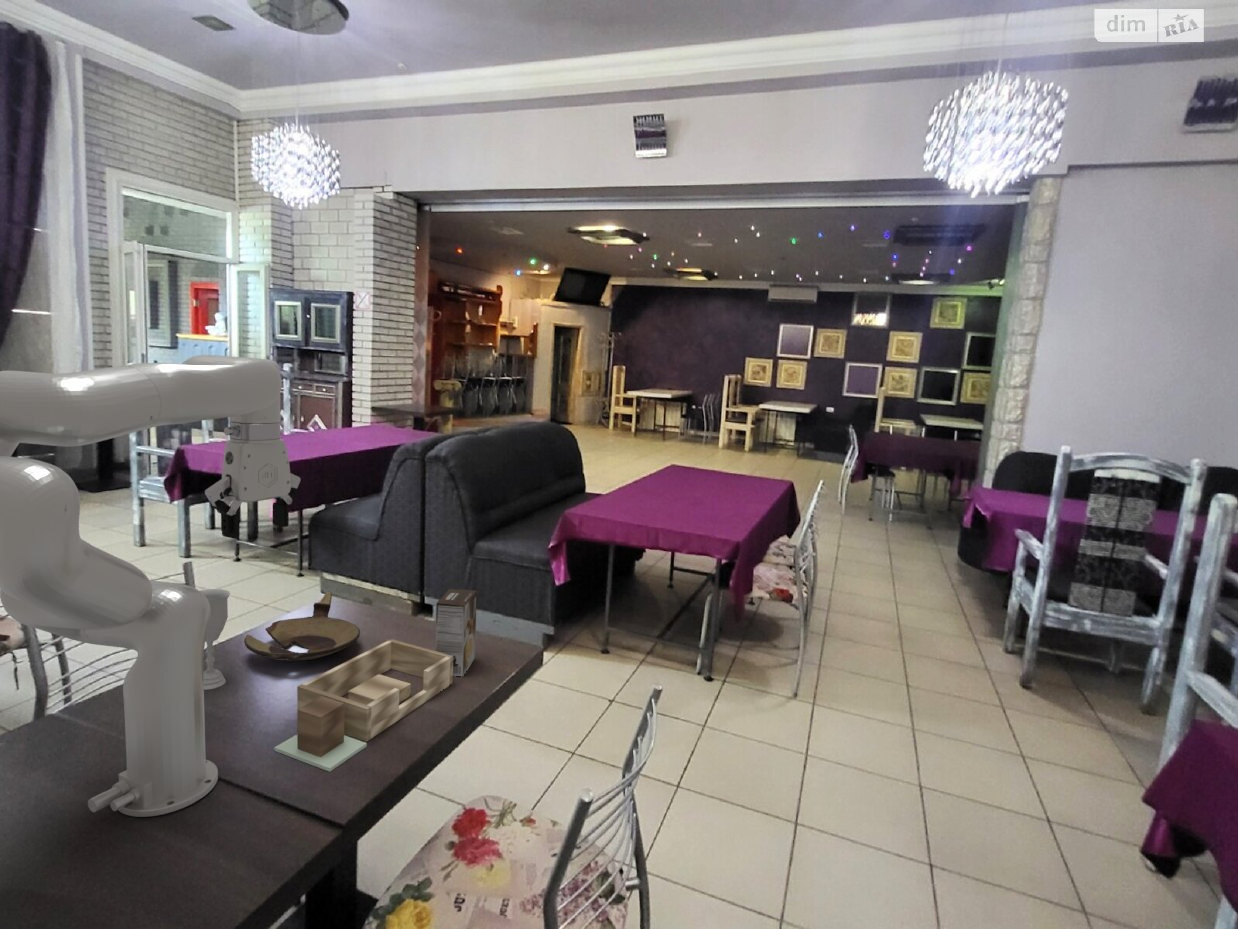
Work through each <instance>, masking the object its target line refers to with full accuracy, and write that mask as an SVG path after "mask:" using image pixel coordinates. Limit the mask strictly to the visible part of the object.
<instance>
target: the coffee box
mask: <svg viewBox="0 0 1238 929" xmlns="http://www.w3.org/2000/svg"><path fill="white" fill-rule="evenodd" d="M477 595H478V590H474V589H473V590H471V589H470V590H469V589H458V588H457V589H454V588H449V589H448V590H447V591H446V592H445V593H444V594H443V596H442V597H441V598H439V600H438V601H437V602H436V606H435V607H436V610H435V611H436V613H435V614H436V616H435V649H434V651H437V652H440V653H444V654H448V655H451V656H453V677H456V676H461V677H460V678H463V677H464V676H465V675H466V673H467V672H468V670H469V669H470V667H471V665H472V663H473V662H474V660H475V659H476V656H475V655H476V632H477V631H476V630H477V629H476V628H477V625H476V624H477V599H478V598H477ZM466 671H467V672H466ZM464 674H465V675H464ZM462 676H463V677H462Z"/></svg>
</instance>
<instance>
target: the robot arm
mask: <svg viewBox="0 0 1238 929" xmlns="http://www.w3.org/2000/svg"><path fill="white" fill-rule="evenodd" d="M282 388H283V380H282V375H281V369H280V365H279V364H278V363H277V361H275V360H272V359H267V358H257V357H256V358H255V357H247V356H246V357H245V356H243V357H242V356H230V355H216V354H215V355H212V354H198V355H195V356H192V357H189V358H188V359H186V360H184V361H183V362H182V363H181V364H180V363H168V362H140V363H139V362H137V363H132V364H126V365H125V364H124V365H119V366H112V367H106V368H105V367H104V368H97V369H89V370H88V369H87V370H84V371H83V370H82V371H75V372H67V373H64V372H63V373H51V372H50V373H49V372H36V371H35V372H33V371H24V370H23V371H22V370H1V371H0V602H1V605H2V607H3V609H4V611H5V612H6V613H7V615H9V616H10V617H11V618H12V619H13V620H14V621H16V622H18V623H20V624H22V625H25V626H28V627H30V628H32V629H33V628H34V629H37V630H39V631H43V632H46V633H50V634H52V635H56V636H59V637H63V638H66V639H68V640H69V639H70V640H72V641H76V642H80V643H85V644H89V645H96V646H106V647H113V648H122V649H123V648H124V649H127V650H134V651H136V652H137V657H136V660H135V661H134V663H133V664H132V666H131V667H130V668H129V669H128V671H127V672H126V675H125V677H124V680H123V686H122V687H123V689H122V696H123V711H124V713H123V714H124V732H125V737H124V738H125V754H126V770H123V771H122V772H120V773H118V782H116V783H114V784H112V787H111V788H110V789H108V790H106V791H103V792H101V793H99V794H97V795H95V796H93V797H91V798H90V799H88V801H87V806H88V809H89V811H90V812H92V813H96V812H98V811H100V810H102V809H103V808H106V807H108V806H110V808H111V810H112V811H113V812H116V811H118V812H120V813H121V814H123V815H127V816H129V817H135V818H136V817H139V818H140V817H142V818H144V817H145V818H146V817H155V816H162V815H165V814H166V815H167V814H169V813H173V812H176V811H179V810H181V809H185V808H186V807H188V806H191V805H193V804H195V803H196V802H197V801H199V800H201V799H202V798H203V797H205V796H206V795H208V793H210V792H211V791H212V790H213V788H215V785H216V784H217V782H218V779H219V770H218V766H217V765H216V764H215V763H214V762H212V761H211V760H208V759H206V728H205V727H206V724H205V723H206V722H205V720H206V718H205V717H206V716H205V690H204V682H203V672H204V658H205V657H204V654H205V646H206V642H205V639H206V634H207V629H208V625H209V619H210V604H209V601H208V599H207V598H206V596H205V595H204V594H203V593H202V592H200V590H199V589H197V588H195V587H193V586H190V585H187V584H183V583H178V582H170V581H169V582H168V581H160V580H151V579H149V577H148V576H147V575H146V574H145V573H144V572H143V571H142V570H141V569H140V568H139V567H137V566H135V565H134V564H133V563H130V562H128V561H127V560H124V559H122V558H120V557H117V556H115V555H113V554H110V553H108V552H107V551H105V550H102V549H101V548H98V547H96V546H94V545H92V544H91V543H89V542H87V541H86V540H83V539H82V538H81V535H80V513H81V512H80V511H81V498H80V493H79V490H78V487H77V485H76V484H75V481H74V480H73V479H72V478H71V476H70V474H68V473H66V472H65V471H64V470H62V468H60V467H59V466H56V465H54V464H52V463H50V462H49V463H48V462H45V461H43V460H39V459H34V458H27V457H17V456H13V454H14V452H15V450H16V449H17V447H18V446H19V445H20V444H32V445H42V446H52V447H53V446H55V447H81V446H86V445H91V444H95V443H99V442H103V441H107V440H110V439H114V438H118V437H121V436H124V435H125V436H126V435H129V434H133V433H137V432H141V431H145V430H148V429H152V428H156V427H160V426H169V425H180V424H190V423H195V422H201V421H209V420H215V419H225V418H228V420H229V421H228V427H227V426H226V427H224V429H223V433H224V435H225V436H228V437H229V440H227V441H226V444H225V447H224V451H223V452H224V453H223V459H222V468H221V479H219V480H218V481H216V482H215V483H214V484H212V485H210V486H209V487H208V488H206V489H205V490H204V494H205V496H206V498H207V499H208V502H210V503H209V504H210V506H211V507H212V508H214V509H215V510H216V512H217V513H218V514H220V520H221V521H220V525H221V526H220V528H221V534H222V535H221V536H223V537H225V538H228V539H229V538H230V539H234V540H235V539H238V538H239V536H240V520H239V518H240V517H239V514H237V513H236V512H237V511H238V509H239V507H240V506H241V505H242V504H243V503H254V502H260V501H266V500H272V499H273V500H274V502H272V525H274V526H278V527H283V528H287V527H289V524H290V521H289V518H290V517H289V515H290V511H289V508H290V507H289V506H290V505H291V504H292V503H293V498H294V497H295V495H296V494H297V493H298V490H297V489H298V488H299V485H300V483H301V477H300V476H297V475H295V474H293V473H292V472H291V468H290V459H289V453H288V449H287V445H286V442H285V440H284V439H282V438H281V392H282ZM221 493H222V496H223V499H221Z"/></svg>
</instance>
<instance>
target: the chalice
mask: <svg viewBox="0 0 1238 929" xmlns="http://www.w3.org/2000/svg"><path fill="white" fill-rule="evenodd" d="M199 591H200V592H202V593H203V594H204V595H205V596H206V598H207V599H208V601H209V604H210V619H209V625H208V629H207V634H206V639H205V644H206V649H205V650H204V653H206V655H207V656H206V659H205V660H204V662H206V664H207V666H206V669H205V670H203V682H204V691H206V690H213V689H216V688H220V687H221V686H223V685H225V684H226V682H227V680H226V679H225V677H224V675H223V674H222V671H220V670H219V669H217V668H215V667H214V664H215V663H214V662H215V661H216V658H215V657H214V652H215V651H216V649H215V648H214V642H215V641H217V640H218V639H219V638H220V636H221V635H222V632H223V630H224V628H225V626H226V623H227V620H228V617H229V615H228V614H229V611H228V606H229V605H228V600H229V597H230V594H231V592H230V591H229V590H226V589H220V588H219V589H218V588H210V589H209V588H208V589H201V590H199Z"/></svg>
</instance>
